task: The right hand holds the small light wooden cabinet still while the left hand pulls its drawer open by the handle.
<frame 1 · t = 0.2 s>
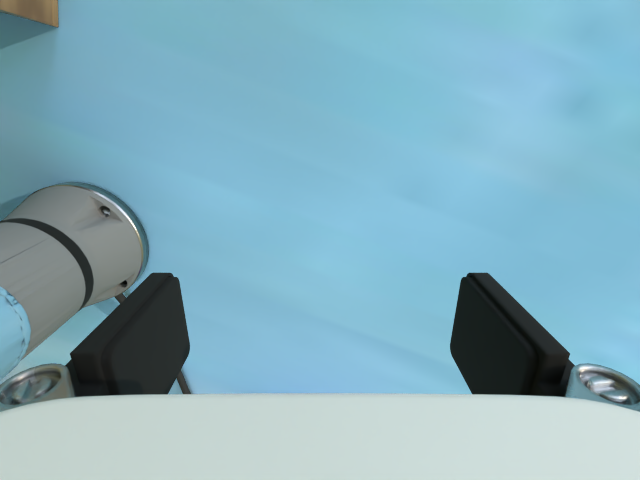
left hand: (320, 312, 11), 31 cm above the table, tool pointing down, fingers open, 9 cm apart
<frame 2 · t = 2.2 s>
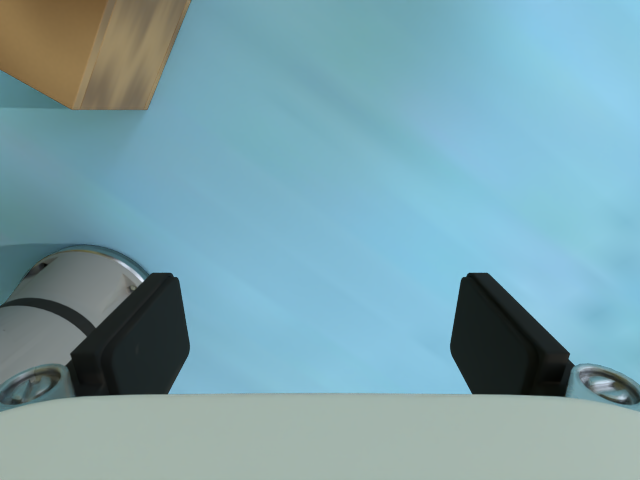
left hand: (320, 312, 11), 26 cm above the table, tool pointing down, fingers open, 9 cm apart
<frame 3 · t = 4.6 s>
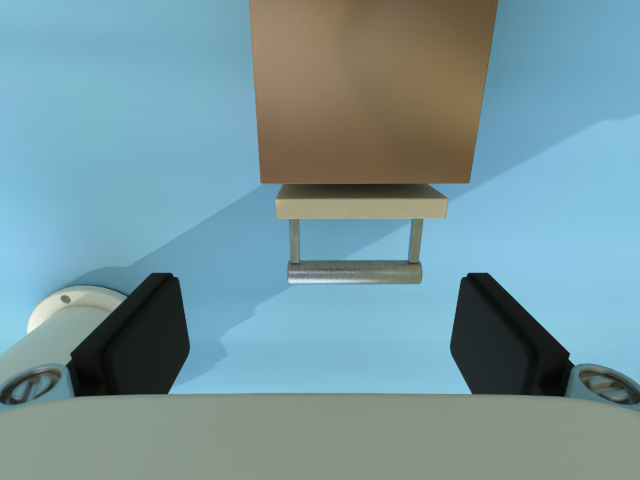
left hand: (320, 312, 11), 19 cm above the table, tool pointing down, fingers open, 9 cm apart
cabinet: (351, 24, 25), on the table, touching right hand
drawer: (356, 105, 21), point 6 cm above the table, slide at 1.0 cm
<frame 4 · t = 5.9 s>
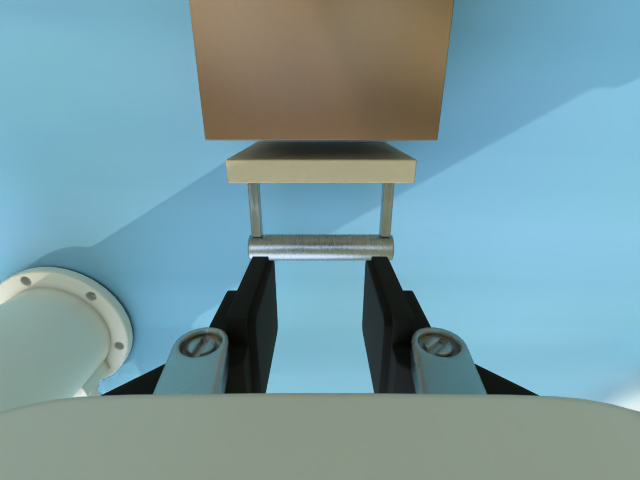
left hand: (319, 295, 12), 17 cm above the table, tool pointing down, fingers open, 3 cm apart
drawer: (321, 63, 20), point 6 cm above the table, slide at 1.0 cm
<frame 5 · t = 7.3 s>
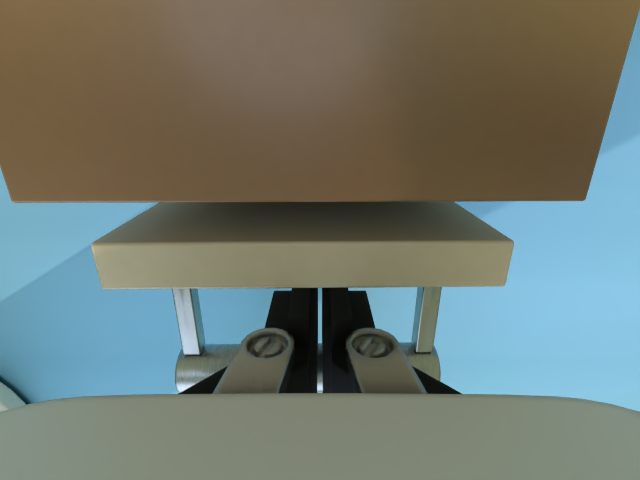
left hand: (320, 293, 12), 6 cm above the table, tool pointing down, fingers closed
drawer: (306, 38, 10), point 6 cm above the table, slide at 1.1 cm, touching left hand
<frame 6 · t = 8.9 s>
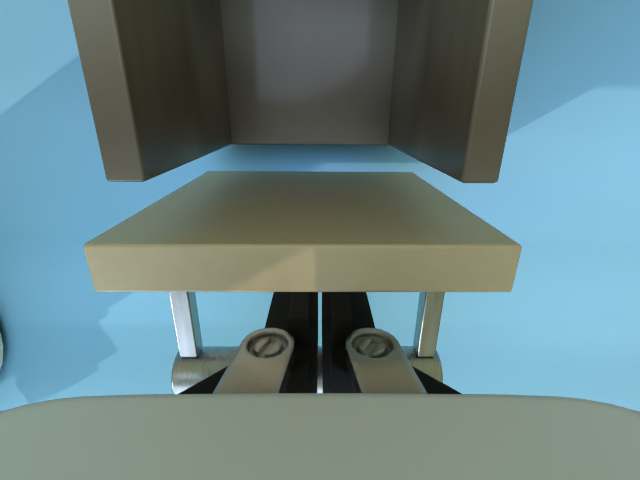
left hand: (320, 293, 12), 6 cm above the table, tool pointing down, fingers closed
drawer: (307, 33, 10), point 6 cm above the table, slide at 9.0 cm, touching left hand
when the right hand's fingers open (6 cm above the table, at t = 10.9 s): cabinet stays where it is, on the table.
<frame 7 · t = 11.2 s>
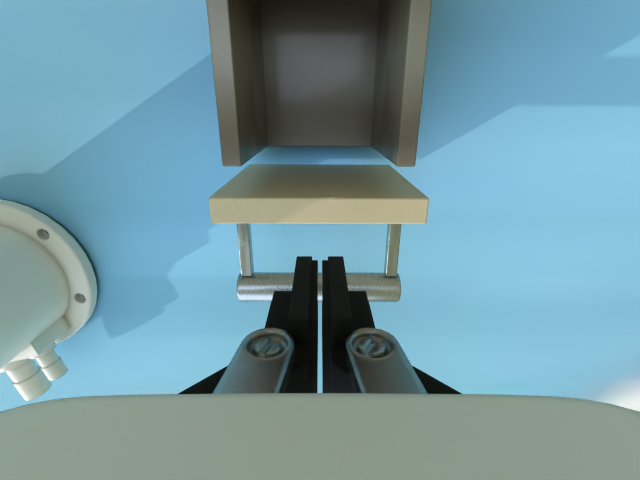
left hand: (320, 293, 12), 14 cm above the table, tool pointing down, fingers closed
drawer: (319, 83, 17), point 5 cm above the table, slide at 9.1 cm
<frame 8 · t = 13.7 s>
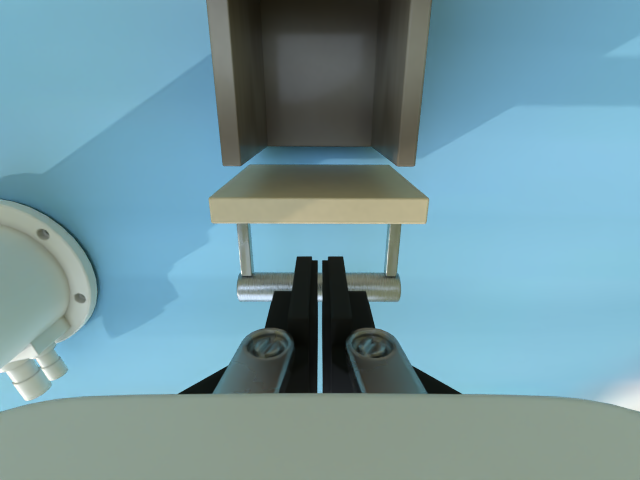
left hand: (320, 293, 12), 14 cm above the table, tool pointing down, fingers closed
drawer: (319, 83, 17), point 5 cm above the table, slide at 9.1 cm
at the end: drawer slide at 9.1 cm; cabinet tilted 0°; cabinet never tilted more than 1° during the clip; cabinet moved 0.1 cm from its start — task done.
